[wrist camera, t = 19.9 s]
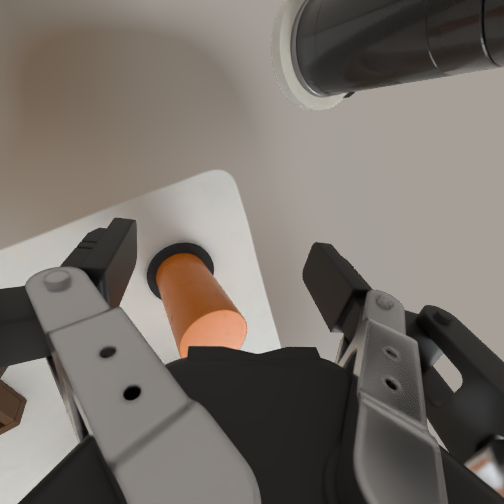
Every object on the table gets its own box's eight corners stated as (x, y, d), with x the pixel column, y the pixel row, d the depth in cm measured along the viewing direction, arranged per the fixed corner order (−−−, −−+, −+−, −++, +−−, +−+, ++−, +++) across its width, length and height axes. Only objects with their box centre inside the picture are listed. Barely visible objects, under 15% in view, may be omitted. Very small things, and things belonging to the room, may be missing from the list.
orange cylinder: (154, 255, 28) (178, 318, 19) (206, 250, 31) (250, 303, 22) (157, 300, 31) (179, 377, 21) (205, 292, 33) (244, 357, 24)
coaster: (144, 246, 28) (145, 248, 28) (213, 240, 32) (215, 241, 31) (149, 306, 31) (150, 308, 31) (211, 294, 35) (213, 296, 34)
